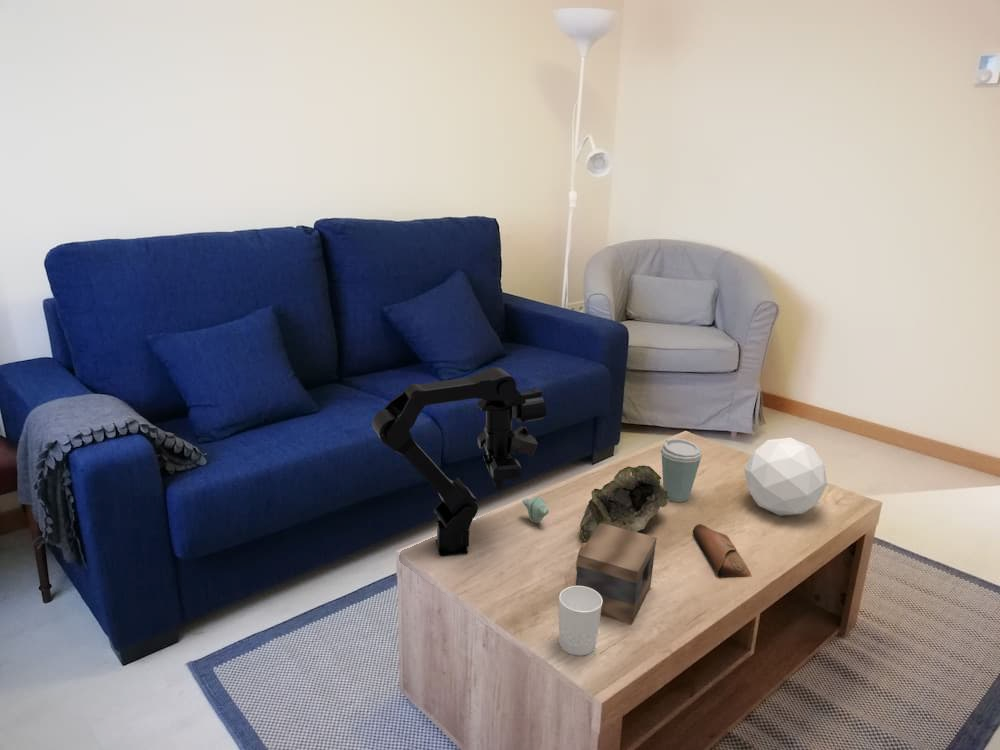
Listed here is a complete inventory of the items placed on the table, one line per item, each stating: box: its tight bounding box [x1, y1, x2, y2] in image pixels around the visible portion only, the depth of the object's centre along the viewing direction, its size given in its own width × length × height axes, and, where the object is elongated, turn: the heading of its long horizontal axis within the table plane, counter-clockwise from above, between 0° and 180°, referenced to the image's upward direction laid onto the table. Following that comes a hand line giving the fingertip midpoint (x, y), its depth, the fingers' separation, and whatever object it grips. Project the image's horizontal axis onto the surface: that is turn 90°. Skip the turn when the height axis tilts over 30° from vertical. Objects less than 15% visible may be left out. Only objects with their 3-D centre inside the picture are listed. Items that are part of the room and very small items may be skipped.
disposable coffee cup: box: [659, 437, 703, 503], centre depth 191 cm, size 11×11×15 cm
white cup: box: [558, 585, 603, 657], centre depth 135 cm, size 8×8×10 cm
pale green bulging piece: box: [521, 495, 549, 524], centre depth 177 cm, size 8×4×7 cm, turn 43°
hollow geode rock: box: [579, 465, 669, 543], centre depth 177 cm, size 28×13×15 cm
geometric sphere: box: [743, 437, 828, 517], centre depth 186 cm, size 19×20×20 cm
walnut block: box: [575, 523, 657, 626], centre depth 149 cm, size 12×14×12 cm
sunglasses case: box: [692, 523, 753, 579], centre depth 167 cm, size 18×7×7 cm
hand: (498, 488), depth 166 cm, fingers closed
